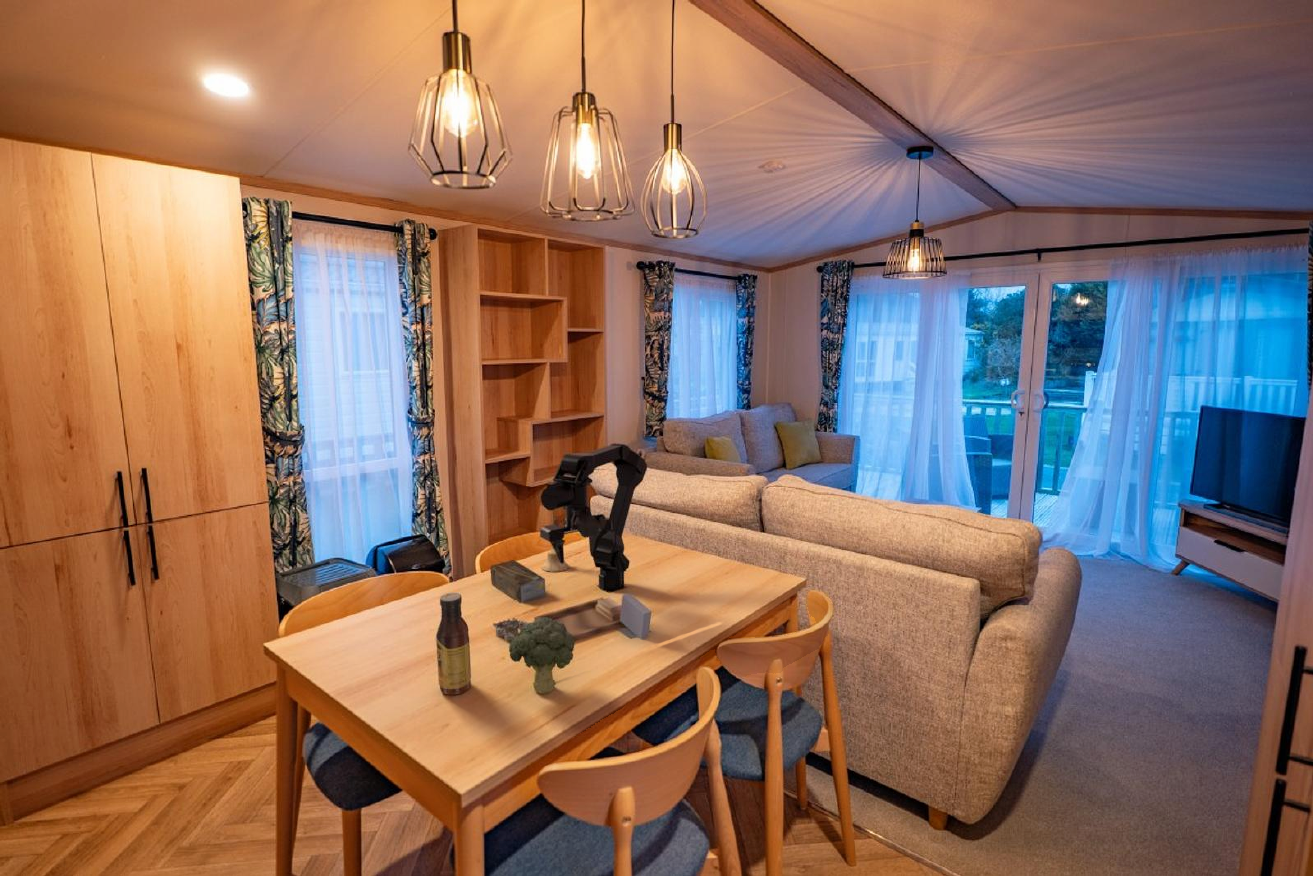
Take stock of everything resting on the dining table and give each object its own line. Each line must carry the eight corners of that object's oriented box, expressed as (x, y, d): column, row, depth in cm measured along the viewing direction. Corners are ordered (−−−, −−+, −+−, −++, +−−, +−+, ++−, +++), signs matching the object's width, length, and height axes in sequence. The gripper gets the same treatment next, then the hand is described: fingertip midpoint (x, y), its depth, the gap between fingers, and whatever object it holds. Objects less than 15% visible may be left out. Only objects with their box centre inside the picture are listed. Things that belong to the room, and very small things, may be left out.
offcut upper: (609, 602, 161) (609, 597, 161) (621, 610, 156) (621, 605, 156) (597, 606, 159) (597, 600, 159) (610, 614, 154) (610, 608, 154)
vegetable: (579, 701, 120) (578, 629, 117) (512, 712, 116) (509, 637, 114) (570, 670, 131) (568, 603, 129) (508, 679, 127) (506, 611, 125)
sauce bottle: (443, 680, 127) (439, 589, 124) (474, 679, 127) (470, 588, 125) (434, 698, 120) (430, 602, 118) (467, 697, 121) (463, 601, 118)
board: (627, 618, 152) (629, 593, 150) (648, 637, 145) (651, 611, 144) (619, 620, 151) (622, 595, 149) (640, 640, 144) (643, 613, 142)
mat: (636, 625, 153) (636, 623, 152) (651, 634, 148) (651, 631, 148) (616, 631, 149) (616, 629, 149) (630, 641, 144) (630, 638, 144)
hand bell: (568, 562, 197) (567, 514, 195) (569, 571, 189) (568, 521, 187) (542, 564, 196) (540, 515, 194) (541, 573, 188) (540, 522, 186)
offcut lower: (607, 607, 162) (607, 601, 162) (624, 617, 156) (624, 611, 155) (595, 610, 160) (595, 604, 160) (612, 621, 153) (612, 615, 153)
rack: (602, 604, 165) (602, 597, 165) (634, 623, 153) (634, 617, 153) (534, 623, 153) (534, 617, 153) (563, 647, 141) (563, 639, 141)
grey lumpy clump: (543, 641, 145) (543, 624, 144) (516, 652, 139) (516, 635, 139) (517, 627, 152) (517, 611, 151) (491, 637, 147) (490, 621, 146)
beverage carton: (520, 606, 164) (519, 583, 163) (489, 585, 179) (488, 563, 178) (546, 598, 169) (546, 576, 168) (514, 579, 184) (514, 557, 183)
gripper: (559, 514, 147) (560, 576, 150) (623, 503, 159) (623, 561, 161) (538, 505, 156) (539, 563, 158) (600, 494, 167) (601, 549, 170)
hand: (577, 559), depth 162 cm, fingers open, 9 cm apart
